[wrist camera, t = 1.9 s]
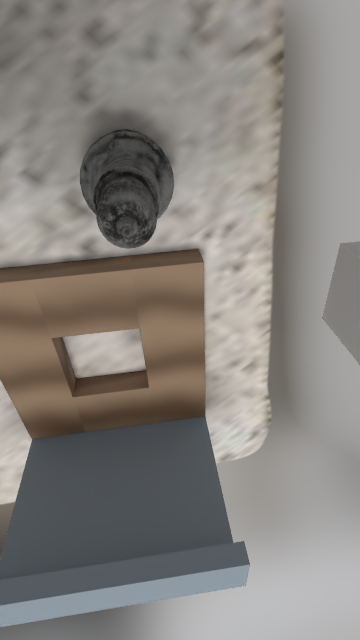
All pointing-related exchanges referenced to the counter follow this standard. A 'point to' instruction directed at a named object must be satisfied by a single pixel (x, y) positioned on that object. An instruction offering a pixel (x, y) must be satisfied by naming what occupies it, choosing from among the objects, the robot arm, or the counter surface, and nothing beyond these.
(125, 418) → the socket block
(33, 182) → the counter surface
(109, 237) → the dark grey chess piece
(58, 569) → the grey upright panel
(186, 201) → the counter surface
